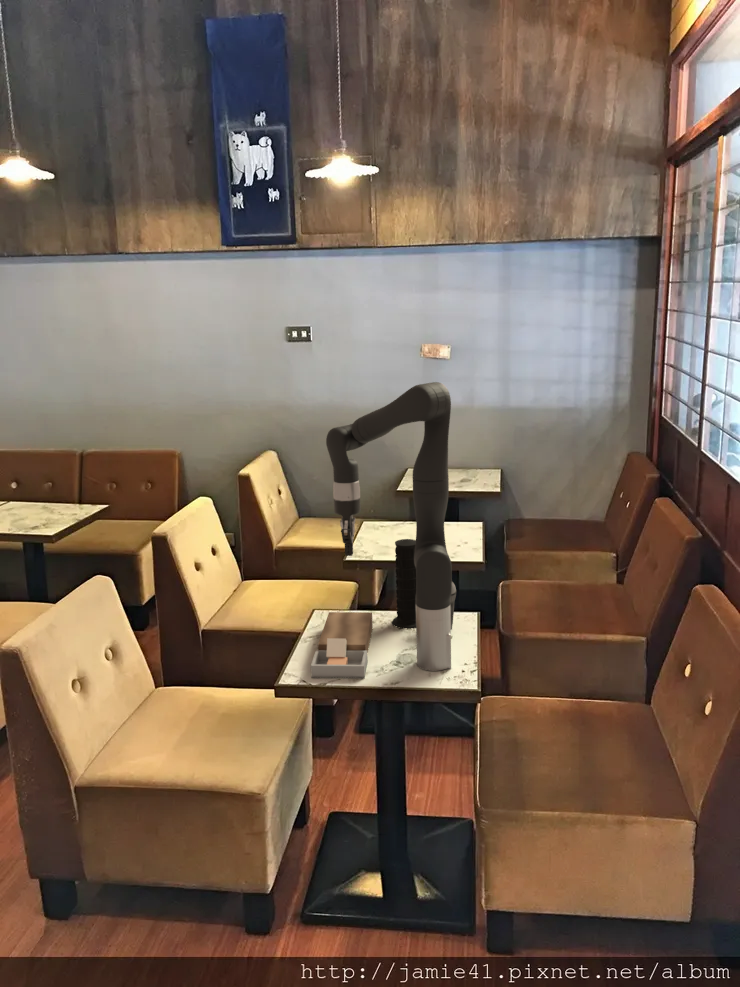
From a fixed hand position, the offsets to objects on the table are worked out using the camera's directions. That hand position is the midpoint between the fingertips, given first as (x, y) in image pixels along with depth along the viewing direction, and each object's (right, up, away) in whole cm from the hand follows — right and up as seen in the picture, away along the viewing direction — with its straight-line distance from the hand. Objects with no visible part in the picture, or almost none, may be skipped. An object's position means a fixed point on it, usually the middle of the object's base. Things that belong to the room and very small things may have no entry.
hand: (349, 554), depth 234 cm
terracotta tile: (-3, -27, -17) cm, 32 cm away
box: (-2, -30, -15) cm, 33 cm away
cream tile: (-3, -25, -12) cm, 28 cm away
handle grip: (+18, -22, +15) cm, 32 cm away
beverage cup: (+28, -23, +9) cm, 37 cm away
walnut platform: (-1, -26, +1) cm, 26 cm away
